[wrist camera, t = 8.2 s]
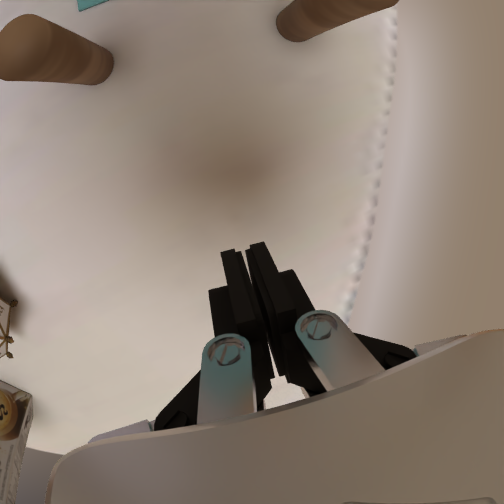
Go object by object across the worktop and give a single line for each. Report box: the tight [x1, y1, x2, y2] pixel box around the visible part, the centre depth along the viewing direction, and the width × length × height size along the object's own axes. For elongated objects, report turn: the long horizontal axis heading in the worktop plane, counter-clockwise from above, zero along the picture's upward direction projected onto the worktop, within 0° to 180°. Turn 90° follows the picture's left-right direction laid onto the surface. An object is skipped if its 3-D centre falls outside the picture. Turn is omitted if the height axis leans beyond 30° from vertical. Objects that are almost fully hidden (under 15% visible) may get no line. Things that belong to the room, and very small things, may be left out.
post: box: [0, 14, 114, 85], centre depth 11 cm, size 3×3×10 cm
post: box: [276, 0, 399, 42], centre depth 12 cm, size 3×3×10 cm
